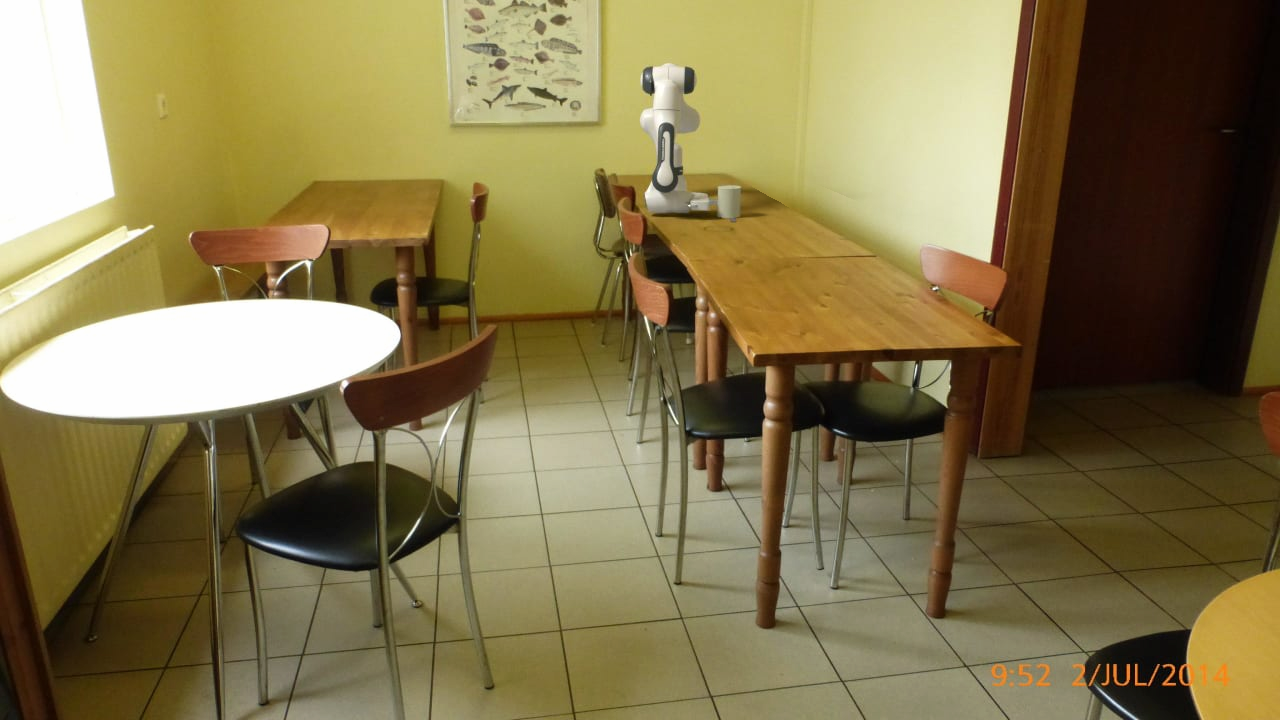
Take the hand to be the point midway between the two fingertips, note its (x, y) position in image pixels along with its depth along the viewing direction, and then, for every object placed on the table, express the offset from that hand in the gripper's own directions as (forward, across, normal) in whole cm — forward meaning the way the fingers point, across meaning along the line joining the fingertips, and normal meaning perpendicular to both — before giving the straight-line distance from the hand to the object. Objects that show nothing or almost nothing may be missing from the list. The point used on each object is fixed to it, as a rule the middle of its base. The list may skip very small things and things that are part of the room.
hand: (720, 201), depth 368 cm
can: (+3, -1, +6) cm, 7 cm away
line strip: (+4, -10, +6) cm, 13 cm away
